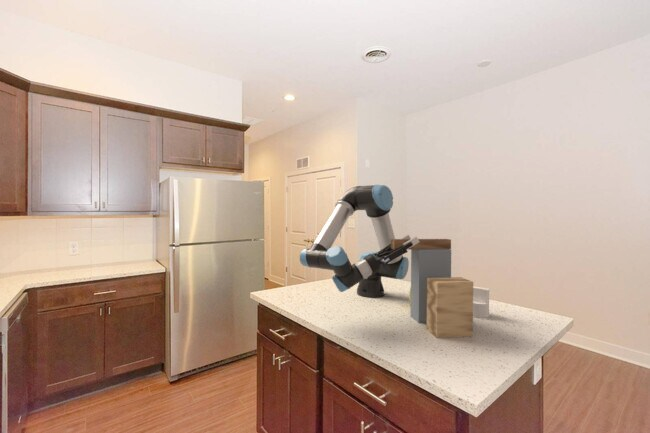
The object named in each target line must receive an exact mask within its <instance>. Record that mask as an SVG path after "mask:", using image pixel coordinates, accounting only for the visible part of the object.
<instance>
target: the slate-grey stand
mask: <svg viewBox="0 0 650 433" xmlns="http://www.w3.org/2000/svg"><path fill="white" fill-rule="evenodd" d="M449 277H452V249H411V251H410V288H411V306H410V317H411V318H412V319H413V320H415V322H417V323H418V324H425V323H426V324H427V278H449Z"/></svg>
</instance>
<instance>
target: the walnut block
mask: <svg viewBox="0 0 650 433" xmlns="http://www.w3.org/2000/svg"><path fill="white" fill-rule="evenodd" d="M409 240H410V239H402V238H395V239H391V249H396V248H398V247H400V246H402V245H403V244H404V243H405V242H407V241H409ZM418 240H419V243H417V244H416V245H414V246H412V247H411V248H409V249H407V251H409V250H411V249H450V250H452V239H449V238H418Z"/></svg>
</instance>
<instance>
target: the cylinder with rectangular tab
mask: <svg viewBox="0 0 650 433" xmlns="http://www.w3.org/2000/svg"><path fill="white" fill-rule="evenodd" d="M489 317H490V288H487V287H480V286H474V285H473V318H478V319H487V318H489Z"/></svg>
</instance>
